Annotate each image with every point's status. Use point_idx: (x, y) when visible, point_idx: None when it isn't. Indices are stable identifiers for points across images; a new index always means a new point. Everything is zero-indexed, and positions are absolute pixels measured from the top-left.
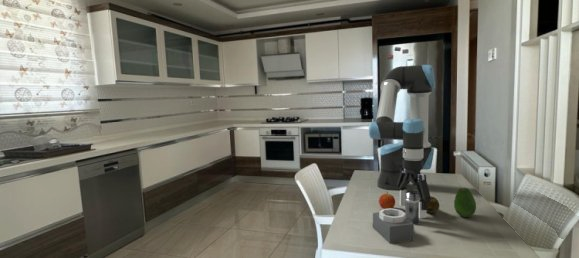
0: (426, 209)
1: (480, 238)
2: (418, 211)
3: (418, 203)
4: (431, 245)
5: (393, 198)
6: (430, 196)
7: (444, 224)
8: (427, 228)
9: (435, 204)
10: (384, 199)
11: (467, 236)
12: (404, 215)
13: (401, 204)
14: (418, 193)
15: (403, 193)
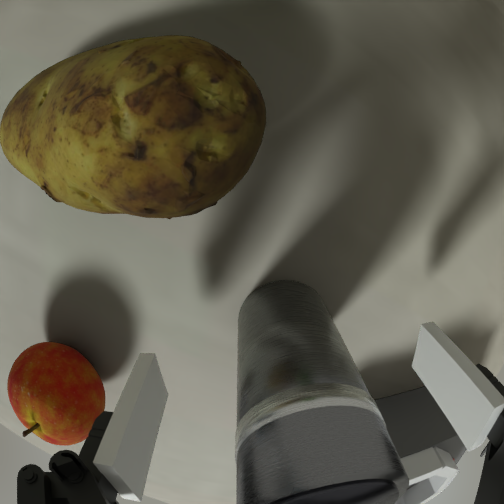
0: (482, 367)
1: None
2: (345, 345)
3: (370, 395)
4: (496, 330)
5: (58, 396)
6: (112, 102)
7: (372, 134)
8: (395, 277)
9: (264, 110)
10: (83, 439)
11: (500, 133)
12: (451, 466)
13: (162, 397)
14: (485, 499)
15: (136, 462)
